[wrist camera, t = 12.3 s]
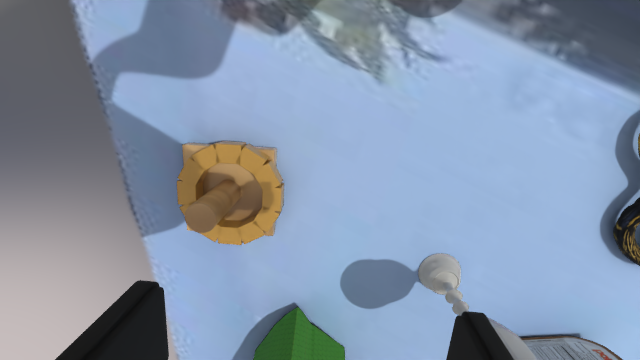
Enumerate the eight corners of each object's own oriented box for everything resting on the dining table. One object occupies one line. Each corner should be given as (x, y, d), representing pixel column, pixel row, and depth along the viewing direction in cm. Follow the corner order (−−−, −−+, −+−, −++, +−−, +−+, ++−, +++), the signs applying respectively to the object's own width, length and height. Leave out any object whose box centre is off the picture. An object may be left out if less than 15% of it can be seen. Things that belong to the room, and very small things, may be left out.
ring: (183, 138, 34) (174, 140, 33) (285, 144, 34) (282, 147, 32) (187, 233, 37) (179, 240, 35) (282, 239, 37) (279, 247, 35)
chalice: (397, 274, 39) (448, 417, 22) (436, 234, 38) (524, 354, 20) (442, 308, 40) (525, 470, 23) (481, 270, 39) (603, 413, 21)
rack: (188, 142, 36) (138, 158, 27) (276, 147, 36) (257, 165, 27) (192, 225, 39) (148, 266, 29) (275, 230, 38) (257, 273, 29)
